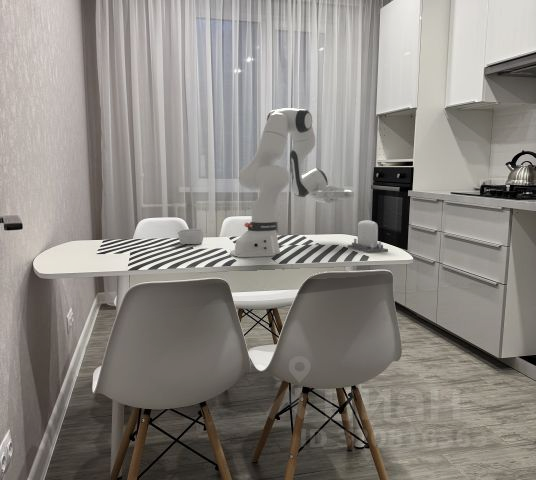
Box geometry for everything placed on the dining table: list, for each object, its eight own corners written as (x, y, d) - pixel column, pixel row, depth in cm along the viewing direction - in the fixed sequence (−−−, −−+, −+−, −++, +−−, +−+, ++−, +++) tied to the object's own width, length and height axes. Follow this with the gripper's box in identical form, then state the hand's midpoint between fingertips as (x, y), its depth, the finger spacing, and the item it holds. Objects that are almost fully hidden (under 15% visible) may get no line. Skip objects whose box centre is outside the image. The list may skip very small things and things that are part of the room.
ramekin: (173, 245, 237) (172, 231, 236) (185, 241, 250) (184, 228, 249) (197, 246, 234) (197, 232, 233) (208, 242, 246) (207, 229, 245)
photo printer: (355, 246, 222) (356, 219, 220) (362, 245, 224) (362, 219, 223) (372, 248, 214) (373, 221, 212) (379, 247, 216) (379, 220, 214)
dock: (368, 252, 209) (369, 244, 208) (347, 247, 225) (347, 238, 225) (387, 251, 213) (387, 242, 212) (365, 245, 229) (365, 237, 229)
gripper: (310, 188, 238) (323, 188, 225) (345, 188, 245) (360, 188, 232) (310, 200, 239) (323, 201, 226) (345, 200, 246) (359, 201, 233)
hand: (342, 195), depth 229 cm, fingers open, 8 cm apart
